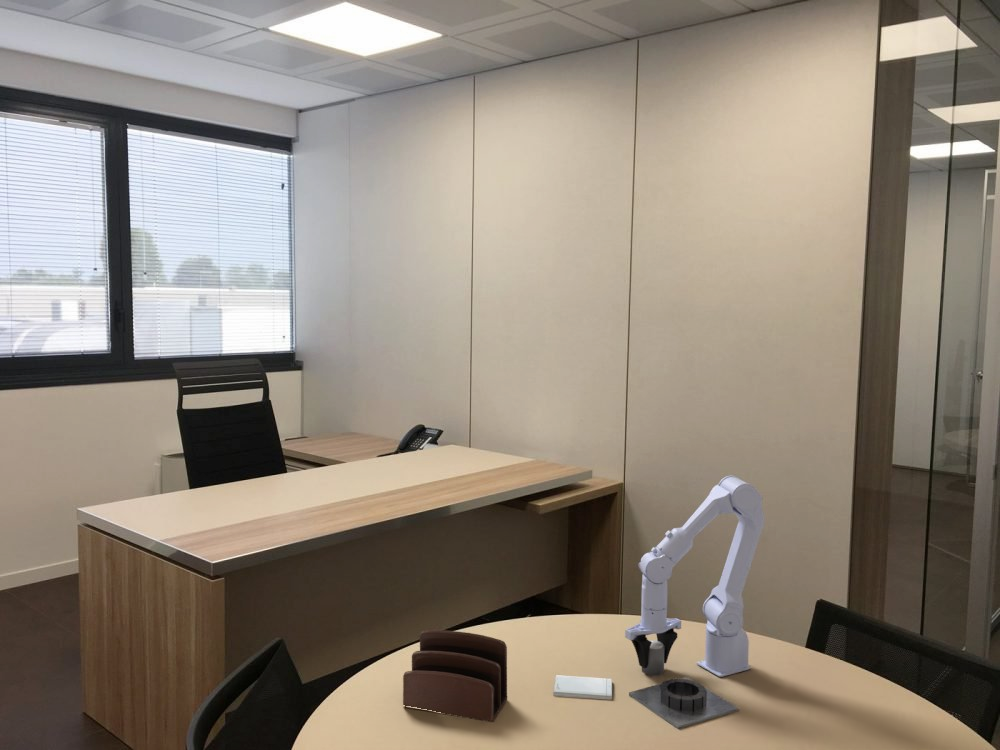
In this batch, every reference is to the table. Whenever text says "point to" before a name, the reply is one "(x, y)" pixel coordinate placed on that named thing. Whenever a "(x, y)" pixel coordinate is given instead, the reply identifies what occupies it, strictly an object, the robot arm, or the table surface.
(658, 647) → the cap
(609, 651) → the table surface
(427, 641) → the letter holder
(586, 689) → the hard drive
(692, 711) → the flat grey square plate
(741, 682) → the table surface
